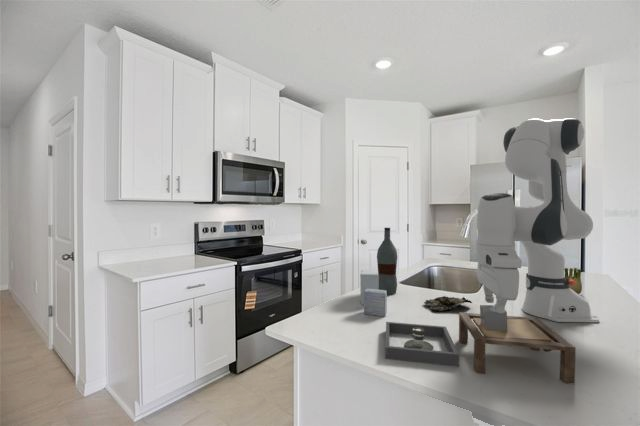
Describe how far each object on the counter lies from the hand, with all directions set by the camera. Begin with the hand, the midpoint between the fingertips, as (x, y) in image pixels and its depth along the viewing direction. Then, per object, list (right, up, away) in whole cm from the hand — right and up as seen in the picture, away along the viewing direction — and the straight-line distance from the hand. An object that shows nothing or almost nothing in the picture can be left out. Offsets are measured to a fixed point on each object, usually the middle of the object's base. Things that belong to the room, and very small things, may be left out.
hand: (494, 306), depth 81 cm
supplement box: (-26, -13, +46) cm, 54 cm away
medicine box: (-26, -13, +33) cm, 43 cm away
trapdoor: (+4, -9, -1) cm, 10 cm away
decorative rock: (+4, -13, +41) cm, 43 cm away
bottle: (-15, -12, +60) cm, 63 cm away
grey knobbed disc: (-18, -13, +6) cm, 23 cm away
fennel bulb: (+69, -12, +58) cm, 92 cm away
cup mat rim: (-18, -13, +6) cm, 23 cm away
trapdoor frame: (+4, -14, 0) cm, 14 cm away
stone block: (0, -5, 0) cm, 5 cm away
